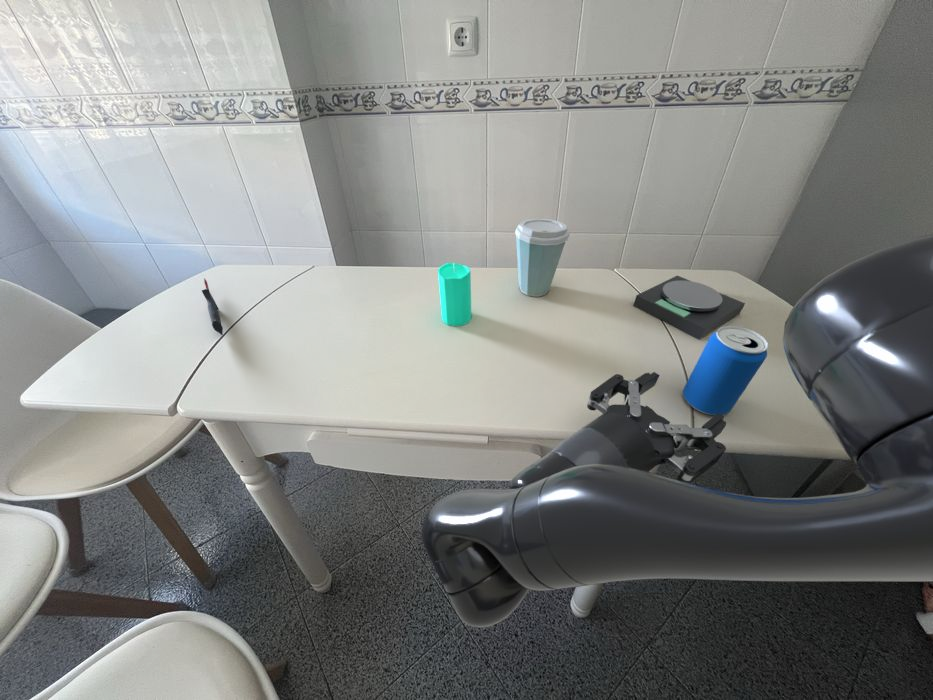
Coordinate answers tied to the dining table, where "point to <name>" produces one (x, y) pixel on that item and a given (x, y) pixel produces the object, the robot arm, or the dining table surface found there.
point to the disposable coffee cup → (539, 253)
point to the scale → (687, 311)
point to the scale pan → (692, 295)
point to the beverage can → (725, 369)
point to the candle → (455, 293)
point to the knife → (213, 310)
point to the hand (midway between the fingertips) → (685, 397)
